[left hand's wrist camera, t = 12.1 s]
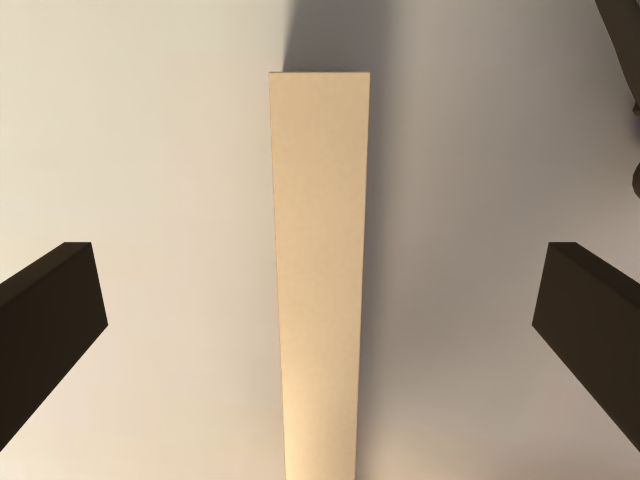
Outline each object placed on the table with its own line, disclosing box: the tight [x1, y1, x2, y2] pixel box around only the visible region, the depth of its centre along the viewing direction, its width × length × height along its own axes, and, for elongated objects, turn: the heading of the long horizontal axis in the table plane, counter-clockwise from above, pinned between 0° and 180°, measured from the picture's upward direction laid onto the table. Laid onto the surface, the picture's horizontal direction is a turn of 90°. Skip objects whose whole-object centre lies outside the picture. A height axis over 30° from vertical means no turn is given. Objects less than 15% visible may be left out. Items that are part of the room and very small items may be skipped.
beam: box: [269, 72, 370, 480], centre depth 36 cm, size 62×5×8 cm, turn 0°
